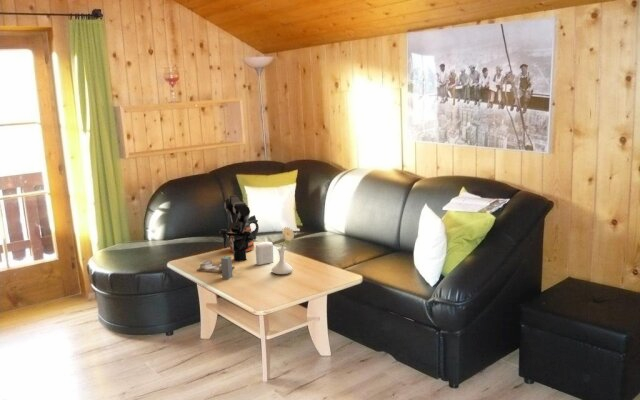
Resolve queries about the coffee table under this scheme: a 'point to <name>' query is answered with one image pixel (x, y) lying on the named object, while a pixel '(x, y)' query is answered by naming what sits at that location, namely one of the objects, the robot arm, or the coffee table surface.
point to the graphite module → (226, 267)
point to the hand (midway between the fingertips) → (232, 248)
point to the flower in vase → (282, 265)
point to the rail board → (210, 267)
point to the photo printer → (264, 253)
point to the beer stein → (249, 221)
